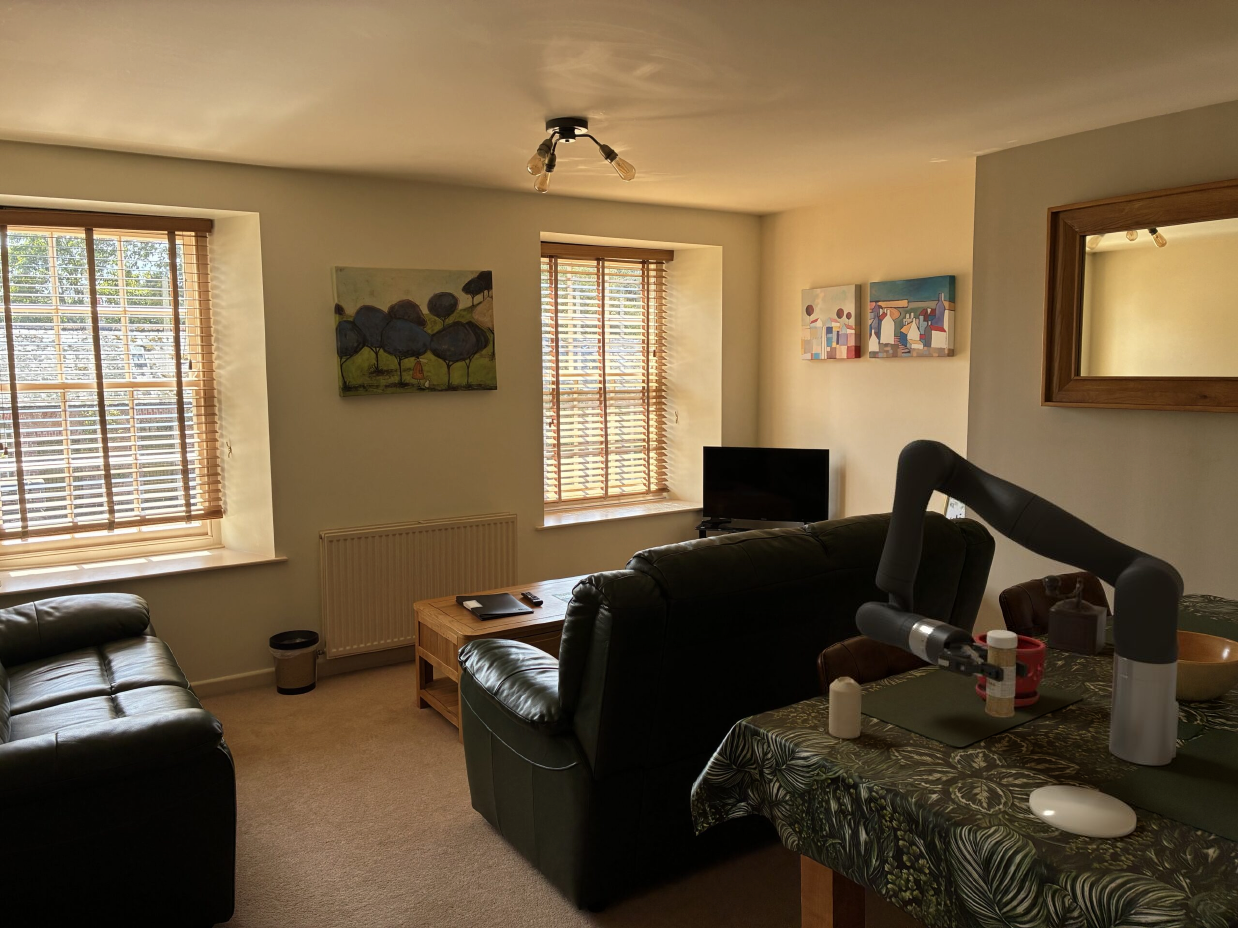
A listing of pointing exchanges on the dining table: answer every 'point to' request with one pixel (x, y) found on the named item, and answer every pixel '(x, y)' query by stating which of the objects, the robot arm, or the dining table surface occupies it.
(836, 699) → the candle
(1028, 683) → the plant pot
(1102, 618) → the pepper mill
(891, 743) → the dining table surface
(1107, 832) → the cream plate
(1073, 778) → the dining table surface
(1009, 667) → the sprinkles bottle
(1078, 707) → the dining table surface
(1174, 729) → the robot arm
